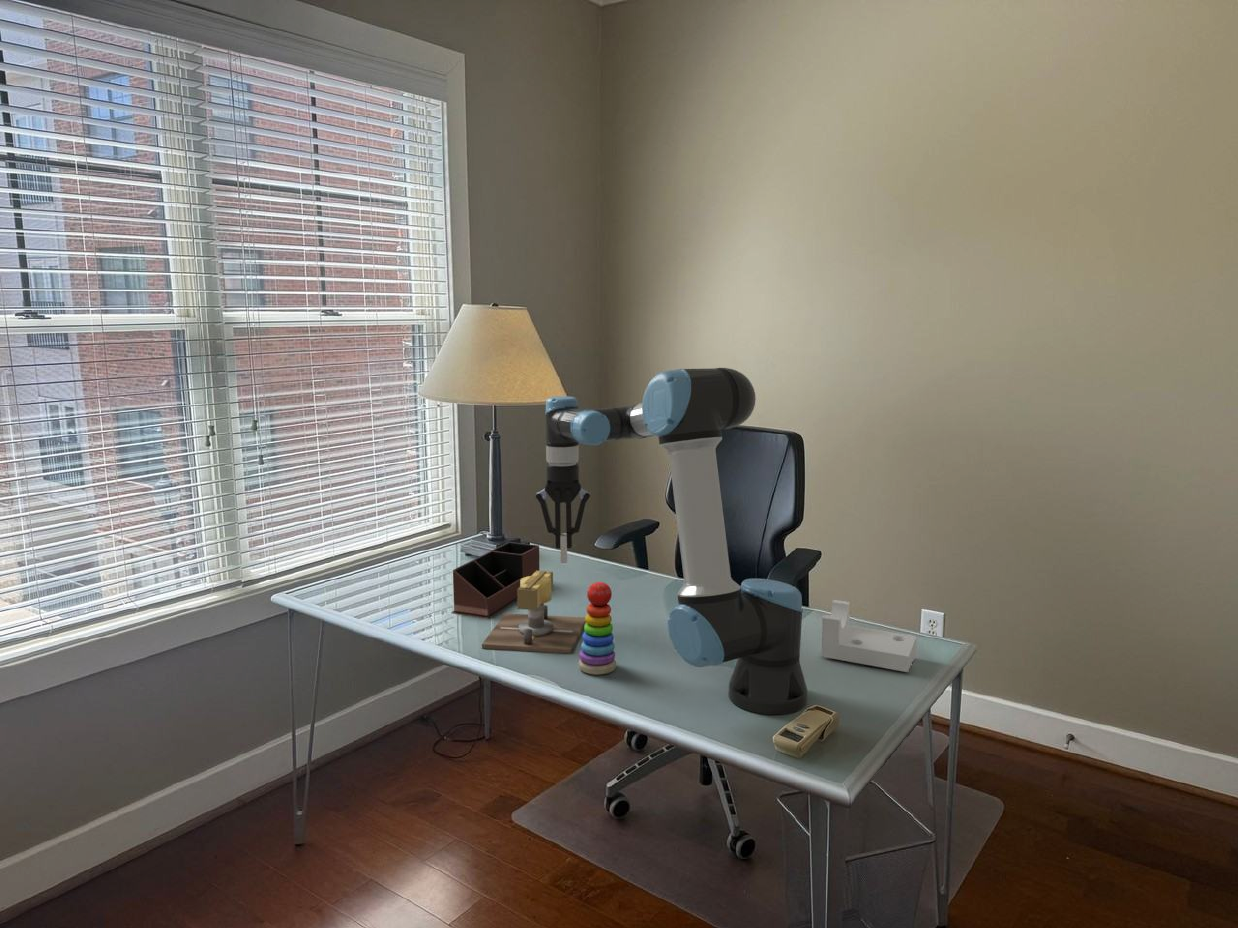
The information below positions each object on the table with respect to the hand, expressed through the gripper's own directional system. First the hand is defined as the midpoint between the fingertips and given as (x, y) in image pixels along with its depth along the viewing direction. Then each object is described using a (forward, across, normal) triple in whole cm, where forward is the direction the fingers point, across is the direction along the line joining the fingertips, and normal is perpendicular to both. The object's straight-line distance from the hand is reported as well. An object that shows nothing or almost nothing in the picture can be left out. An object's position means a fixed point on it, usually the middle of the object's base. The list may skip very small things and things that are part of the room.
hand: (563, 561), depth 212 cm
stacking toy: (+16, -7, +28) cm, 33 cm away
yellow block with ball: (+7, +6, +8) cm, 12 cm away
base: (+15, +6, +8) cm, 18 cm away
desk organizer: (+15, +17, -18) cm, 29 cm away
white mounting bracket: (+16, -66, +24) cm, 72 cm away
